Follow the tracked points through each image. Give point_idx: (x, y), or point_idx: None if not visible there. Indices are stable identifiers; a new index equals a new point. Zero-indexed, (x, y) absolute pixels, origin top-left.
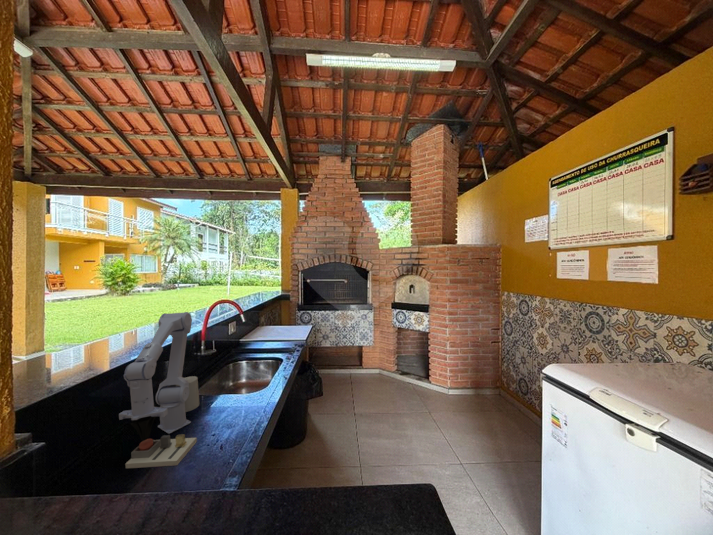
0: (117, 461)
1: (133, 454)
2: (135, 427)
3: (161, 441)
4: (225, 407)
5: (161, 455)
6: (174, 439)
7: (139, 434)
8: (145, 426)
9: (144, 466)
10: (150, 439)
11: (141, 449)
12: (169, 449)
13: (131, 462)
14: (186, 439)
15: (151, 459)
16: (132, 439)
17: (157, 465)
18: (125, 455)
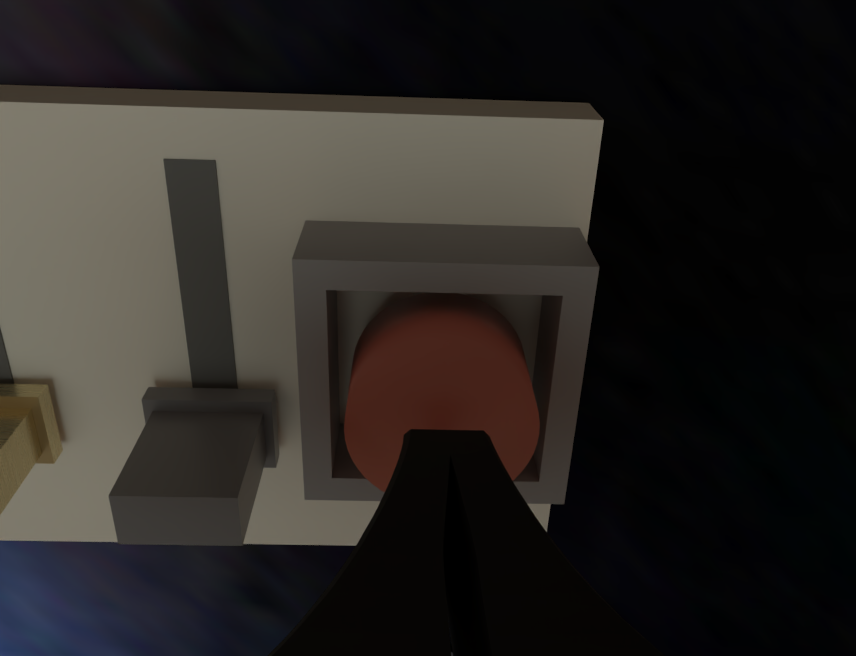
0: (804, 260)
1: (553, 250)
2: (600, 642)
3: (239, 456)
4: None
5: (134, 243)
6: None
7: (506, 501)
8: (279, 651)
9: (305, 95)
10: None
11: (459, 317)
12: (115, 355)
13: (519, 138)
14: (32, 518)
15: (229, 171)
16: (838, 604)
17: (105, 92)
18: (760, 358)
